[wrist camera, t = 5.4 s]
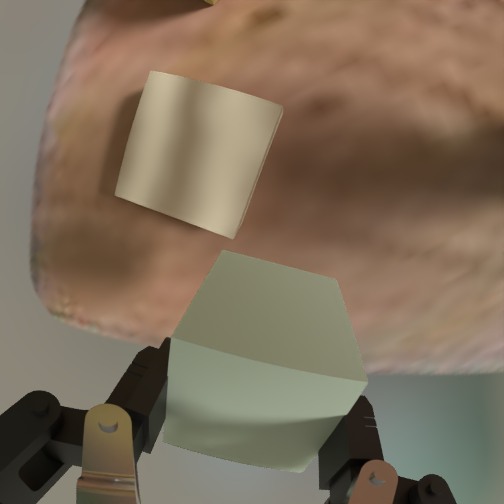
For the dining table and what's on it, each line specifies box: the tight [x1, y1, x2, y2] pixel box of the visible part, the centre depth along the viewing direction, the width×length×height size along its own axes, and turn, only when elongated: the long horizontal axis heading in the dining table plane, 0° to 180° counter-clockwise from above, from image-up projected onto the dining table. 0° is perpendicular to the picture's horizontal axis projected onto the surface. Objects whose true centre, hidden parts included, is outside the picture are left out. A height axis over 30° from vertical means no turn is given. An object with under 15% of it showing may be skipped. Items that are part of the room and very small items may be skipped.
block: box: [163, 249, 368, 473], centre depth 12 cm, size 6×6×7 cm
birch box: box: [115, 71, 283, 239], centre depth 24 cm, size 11×11×5 cm
